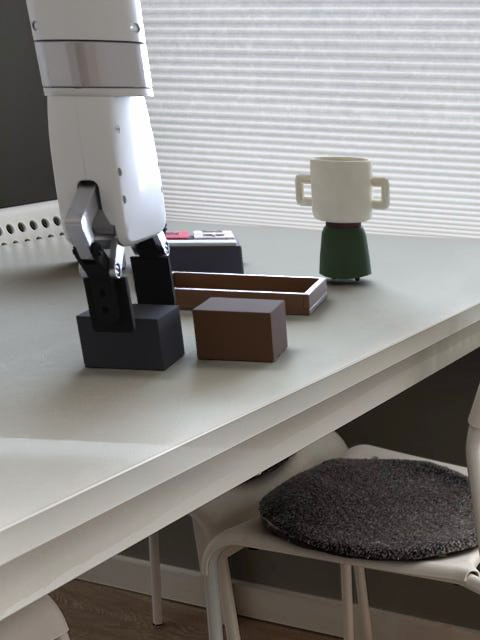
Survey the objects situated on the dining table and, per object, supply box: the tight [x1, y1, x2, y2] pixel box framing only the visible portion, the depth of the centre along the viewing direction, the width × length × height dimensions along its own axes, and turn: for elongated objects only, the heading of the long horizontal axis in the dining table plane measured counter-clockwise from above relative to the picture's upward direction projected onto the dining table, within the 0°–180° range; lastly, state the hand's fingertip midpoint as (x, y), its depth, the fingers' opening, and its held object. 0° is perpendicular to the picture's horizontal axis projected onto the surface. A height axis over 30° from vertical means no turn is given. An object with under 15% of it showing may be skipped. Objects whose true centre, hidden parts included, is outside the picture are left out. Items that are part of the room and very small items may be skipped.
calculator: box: [163, 229, 245, 274], centre depth 115 cm, size 11×4×15 cm
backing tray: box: [172, 271, 328, 316], centre depth 100 cm, size 17×10×2 cm, turn 88°
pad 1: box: [75, 303, 186, 371], centre depth 78 cm, size 6×6×4 cm
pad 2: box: [191, 297, 289, 363], centre depth 81 cm, size 6×6×4 cm
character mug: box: [294, 156, 391, 282], centre depth 110 cm, size 11×7×13 cm, turn 85°
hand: (137, 318), depth 77 cm, fingers open, 9 cm apart
